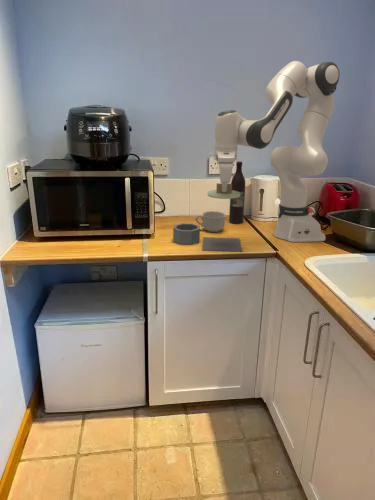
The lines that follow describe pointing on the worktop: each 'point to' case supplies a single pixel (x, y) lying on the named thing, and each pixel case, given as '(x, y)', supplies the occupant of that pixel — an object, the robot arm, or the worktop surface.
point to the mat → (221, 244)
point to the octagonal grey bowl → (186, 234)
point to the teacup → (212, 221)
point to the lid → (224, 195)
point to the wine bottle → (238, 203)
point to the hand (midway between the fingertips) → (224, 190)
